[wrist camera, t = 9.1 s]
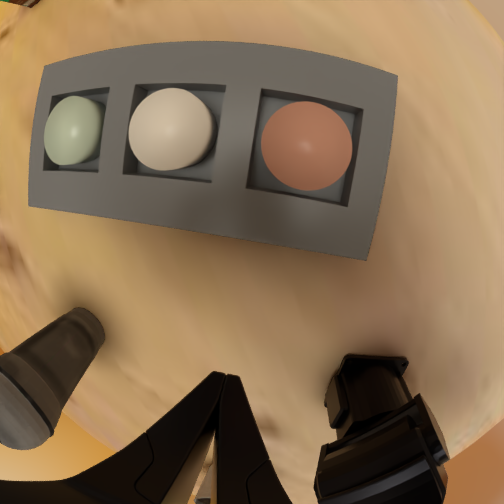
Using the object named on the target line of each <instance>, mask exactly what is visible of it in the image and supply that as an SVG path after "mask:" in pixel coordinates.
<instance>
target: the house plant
mask: <svg viewBox="0 0 504 504" xmlns="http://www.w3.org/2000/svg"><path fill="white" fill-rule="evenodd" d="M211 481H212V465H211V466H210V467H209V469H208V471H207V474H206V476H205V478H204V480H203V482H202V484H201V486H200V489H199V491H198V493H197V495H196V497H195V499H194V502H195V503H196V504H210V501H211Z"/></svg>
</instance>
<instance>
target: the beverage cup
mask: <svg viewBox="0 0 504 504" xmlns="http://www.w3.org/2000/svg"><path fill="white" fill-rule="evenodd" d="M104 340H105V334H104V330H103V328H102V326H101V324H100V322H99V321H98V320H97V318H96V317H95V316H94V315H93V314H92V313H90V312H89V311H87V310H85V309H83V308H75V309H73V310H72V311H70V312H68V313H67V314H64V315H62V316H61V317H59V318H58V319H56V320H55V321H53V322H52V323H50V324H49V325H47V326H46V327H44V328H43V329H41V330H40V331H38V332H37V333H36V334H34V335H33V336H31V337H30V338H28V339H27V340H25V341H24V342H23V343H21V344H20V345H18V346H17V347H16V348H14V349H13V350H11V351H10V352H9V353H4V354H2V355H1V356H0V443H1V444H3V445H5V446H7V447H9V448H12V449H17V450H29V449H33V448H36V447H38V446H40V445H42V444H43V443H44V442H45V441H46V440H47V439H48V438H49V437H51V436H52V435H53V434H54V429H55V427H56V425H57V423H58V420H59V418H60V415H61V411H62V409H63V407H64V406H65V404H66V402H67V401H68V399H69V397H70V396H71V394H72V392H73V391H74V389H75V387H76V386H77V384H78V383H79V381H80V379H81V378H82V376H83V375H84V373H85V371H86V370H87V368H88V367H89V365H90V364H91V362H92V361H93V359H94V358H95V356H96V355H97V352H98V350H99V349H100V346H101V345H102V344H103V342H104Z"/></svg>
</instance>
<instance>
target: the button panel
mask: <svg viewBox="0 0 504 504" xmlns="http://www.w3.org/2000/svg"><path fill="white" fill-rule="evenodd" d="M397 81H398V76H397V75H395V74H392V73H389V72H386V71H383V70H380V69H377V68H374V67H371V66H368V65H364V64H361V63H358V62H354V61H350V60H347V59H343V58H339V57H335V56H330V55H326V54H321V53H317V52H312V51H306V50H301V49H295V48H289V47H282V46H274V45H266V44H256V43H244V42H225V41H184V42H166V43H154V44H144V45H136V46H128V47H122V48H116V49H110V50H104V51H99V52H95V53H90V54H86V55H81V56H77V57H73V58H70V59H66V60H62V61H59V62H56V63H52V64H49V65H46V66H44V70H43V74H42V78H41V83H40V87H39V92H38V97H37V102H36V108H35V114H34V120H33V128H32V136H31V146H30V158H29V181H28V205H29V206H30V207H37V208H44V209H51V210H58V211H65V212H72V213H78V214H85V215H92V216H98V217H105V218H112V219H118V220H125V221H131V222H138V223H144V224H150V225H157V226H163V227H169V228H176V229H182V230H188V231H194V232H200V233H207V234H213V235H219V236H225V237H231V238H237V239H243V240H249V241H255V242H261V243H267V244H273V245H278V246H284V247H290V248H296V249H302V250H307V251H313V252H319V253H325V254H330V255H336V256H342V257H347V258H353V259H358V260H364V261H366V260H367V256H368V253H369V249H370V245H371V241H372V237H373V233H374V229H375V225H376V221H377V216H378V212H379V207H380V203H381V198H382V193H383V188H384V183H385V177H386V172H387V166H388V160H389V154H390V147H391V140H392V133H393V125H394V116H395V106H396V95H397ZM166 88H179V89H183V90H186V91H188V92H190V93H192V94H193V95H195V96H196V97H197V98H198V99H200V100H201V101H202V102H204V103H205V104H206V105H207V106H208V107H209V108H210V110H211V111H212V113H213V115H214V117H215V120H216V125H217V133H216V139H215V142H214V145H213V147H212V149H211V150H210V152H209V153H208V155H207V156H206V157H205V158H204V159H203V160H202V161H200V162H199V163H197V164H196V165H194V166H191V167H189V168H185V169H176V170H166V171H164V170H155V169H152V168H149V167H147V166H146V165H144V164H143V163H141V162H140V161H139V160H138V159H137V157H136V156H135V155H134V153H133V151H132V149H131V146H130V142H129V125H130V121H131V118H132V116H133V113H134V112H135V110H136V108H137V107H138V106H139V104H140V103H141V102H142V101H143V100H144V99H145V98H146V97H148V96H149V95H151V94H152V93H154V92H156V91H159V90H162V89H166ZM70 96H79V97H83V98H87V99H91V100H95V101H98V102H101V103H102V104H103V105H104V106H105V107H106V112H105V118H104V125H103V132H102V140H101V149H100V155H99V156H98V157H97V158H95V159H94V160H92V161H90V162H88V163H80V164H69V165H59V164H56V163H54V162H53V161H52V160H51V159H50V158H49V156H48V154H47V152H46V149H45V145H44V131H45V126H46V122H47V120H48V117H49V115H50V113H51V112H52V110H53V109H54V107H55V106H56V105H57V104H58V103H59V102H60V101H62V100H63V99H65V98H67V97H70ZM302 101H308V102H315V103H318V104H321V105H324V106H326V107H328V108H330V109H331V110H333V111H334V112H335V113H336V114H337V115H338V116H340V118H341V119H342V120H343V121H344V123H345V124H346V126H347V128H348V130H349V132H350V136H351V140H352V156H351V160H350V163H349V166H348V168H347V169H346V171H345V172H344V174H343V175H342V176H341V177H340V178H339V179H338V180H337V181H336V182H334V183H333V184H331V185H330V186H327V187H325V188H322V189H319V190H308V191H306V190H299V189H295V188H292V187H290V186H288V185H286V184H284V183H282V182H281V181H280V180H278V179H277V178H276V177H275V176H274V175H273V174H272V173H271V171H270V170H269V169H268V167H267V165H266V163H265V161H264V158H263V155H262V150H261V138H262V133H263V130H264V127H265V125H266V123H267V121H268V120H269V119H270V117H271V116H272V115H273V114H274V113H275V112H276V111H278V110H279V109H280V108H282V107H284V106H286V105H288V104H291V103H295V102H302Z"/></svg>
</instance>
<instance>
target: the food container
mask: <svg viewBox="0 0 504 504" xmlns="http://www.w3.org/2000/svg"><path fill="white" fill-rule="evenodd" d="M0 1H4V2H9V3H14V4H18V5H22V6H26V7H30V8H31V7H33V6H34V5H35V4H37V3H38V2H39V1H40V0H0Z"/></svg>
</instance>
